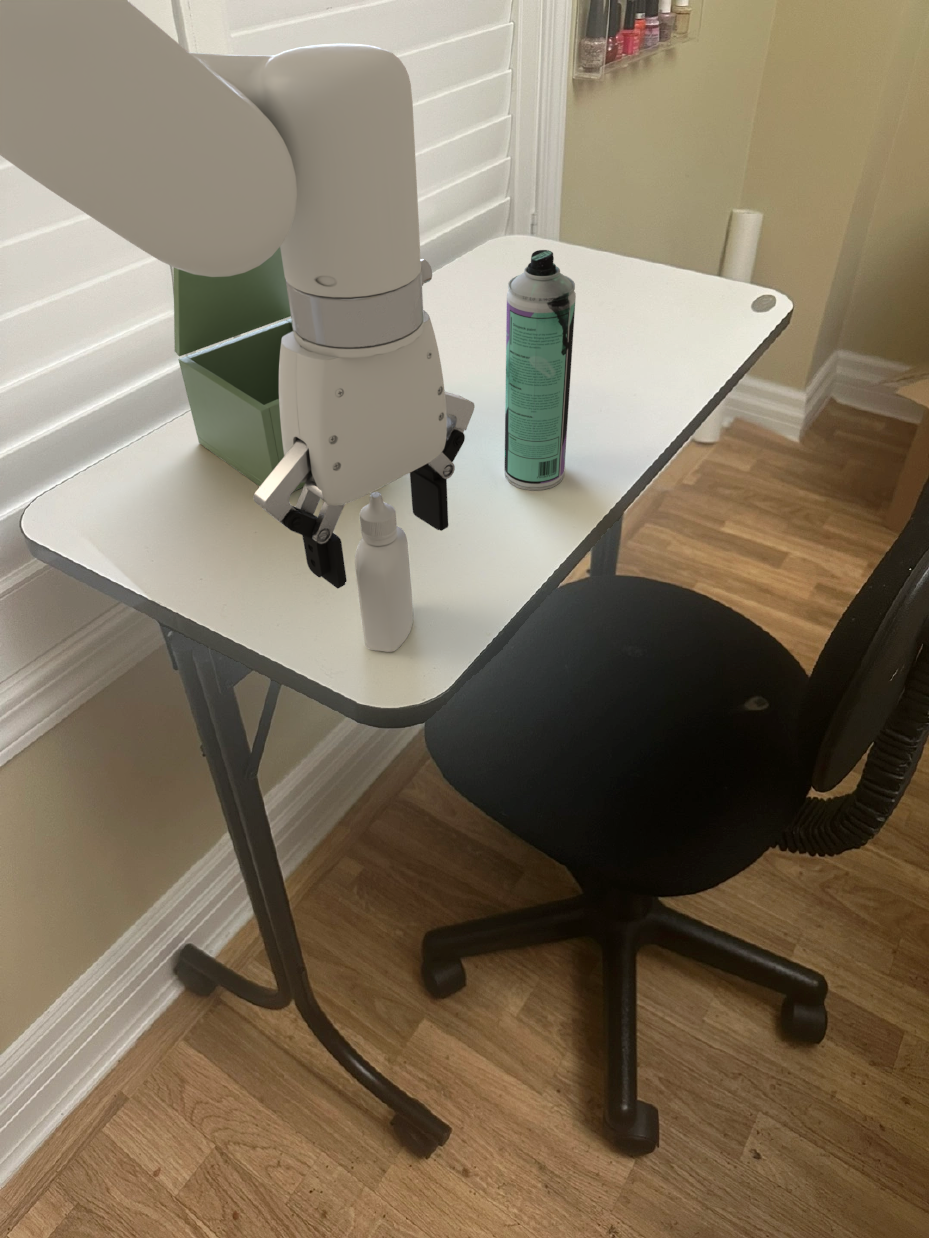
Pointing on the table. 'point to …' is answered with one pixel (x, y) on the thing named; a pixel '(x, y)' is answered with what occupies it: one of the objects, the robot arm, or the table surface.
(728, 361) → the table surface
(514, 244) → the table surface
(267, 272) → the lid
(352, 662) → the table surface
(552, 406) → the spray can
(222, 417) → the chest
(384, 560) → the eye dropper bottle
